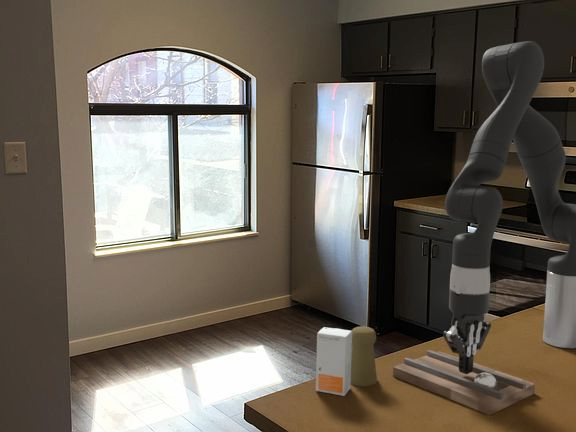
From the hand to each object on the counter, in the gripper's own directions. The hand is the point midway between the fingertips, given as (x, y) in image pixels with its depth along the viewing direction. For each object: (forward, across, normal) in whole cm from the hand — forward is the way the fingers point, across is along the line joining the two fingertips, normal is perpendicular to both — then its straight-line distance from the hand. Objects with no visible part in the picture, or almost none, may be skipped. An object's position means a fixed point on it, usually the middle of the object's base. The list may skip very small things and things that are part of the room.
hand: (465, 372), depth 130 cm
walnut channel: (+3, 0, -1) cm, 3 cm away
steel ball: (+1, 0, +5) cm, 5 cm away
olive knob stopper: (+3, +14, -15) cm, 21 cm away
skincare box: (+3, +22, -15) cm, 27 cm away
